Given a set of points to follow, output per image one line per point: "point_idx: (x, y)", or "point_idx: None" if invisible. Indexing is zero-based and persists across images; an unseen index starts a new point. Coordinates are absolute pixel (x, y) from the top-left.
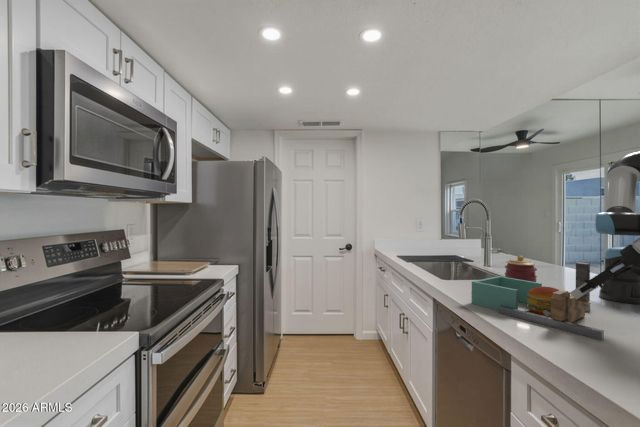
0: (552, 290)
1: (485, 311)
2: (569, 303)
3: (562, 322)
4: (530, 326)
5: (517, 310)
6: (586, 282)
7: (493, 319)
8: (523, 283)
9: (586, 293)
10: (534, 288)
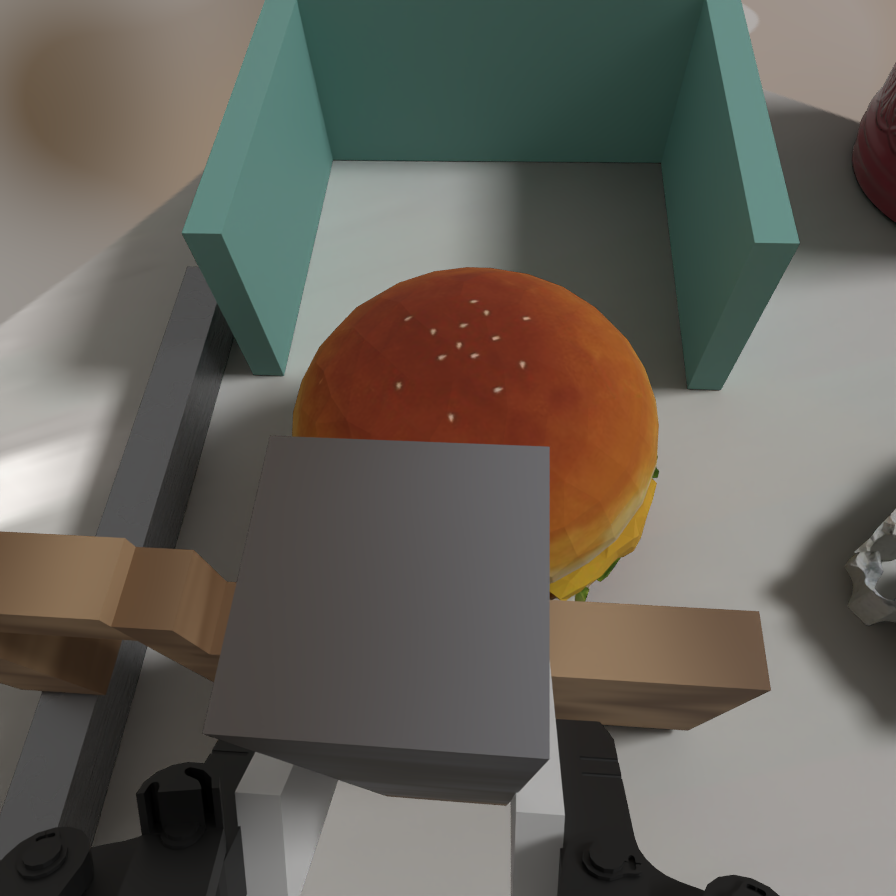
0: (400, 426)
1: (182, 249)
2: (212, 662)
3: (42, 695)
4: (18, 527)
5: (165, 373)
6: (55, 833)
7: (26, 338)
8: (722, 152)
9: (332, 796)
10: (415, 288)
